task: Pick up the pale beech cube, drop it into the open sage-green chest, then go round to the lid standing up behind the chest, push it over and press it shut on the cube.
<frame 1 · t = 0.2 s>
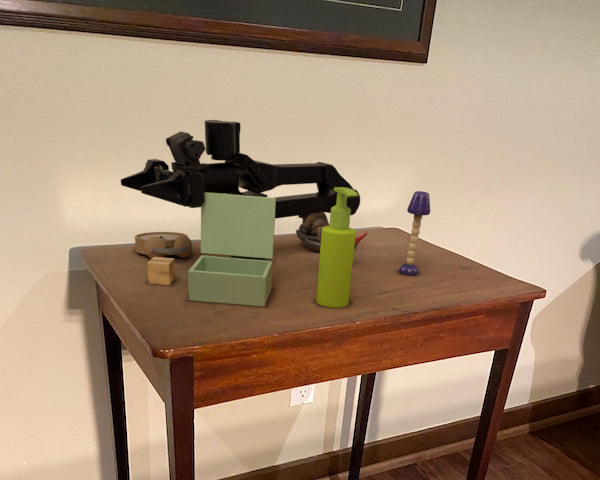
hand: (130, 186, 110), 17 cm above the table, tool horizontal, fingers open, 9 cm apart
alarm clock: (164, 255, 133), on the table
bison figurine: (312, 248, 145), on the table
soap dispenser: (333, 304, 112), on the table
lid: (237, 225, 112), point 11 cm above the table, hinge at 95.0°
chest: (231, 294, 112), on the table
decorative bird figurine: (342, 268, 132), on the table
block: (162, 281, 116), on the table
toy lamp: (408, 274, 132), on the table
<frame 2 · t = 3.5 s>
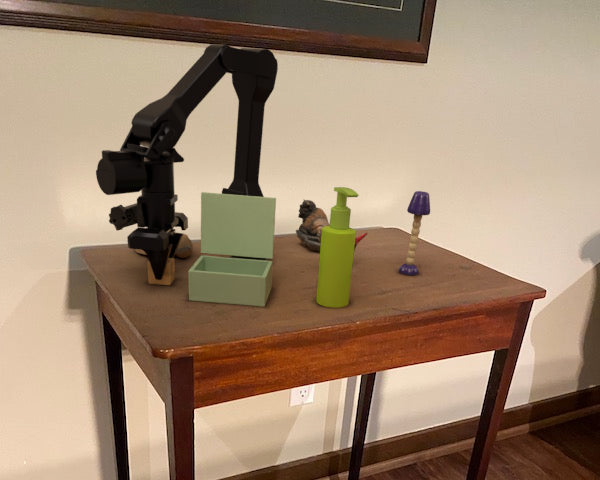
hand: (161, 276, 116), 1 cm above the table, tool pointing down, fingers closed on block, 4 cm apart
block: (162, 281, 116), on the table, touching gripper
everything else where it was.
when the fingers open (6 cm above the table, at t = 10.8 s): block drops 5 cm, resting on chest.
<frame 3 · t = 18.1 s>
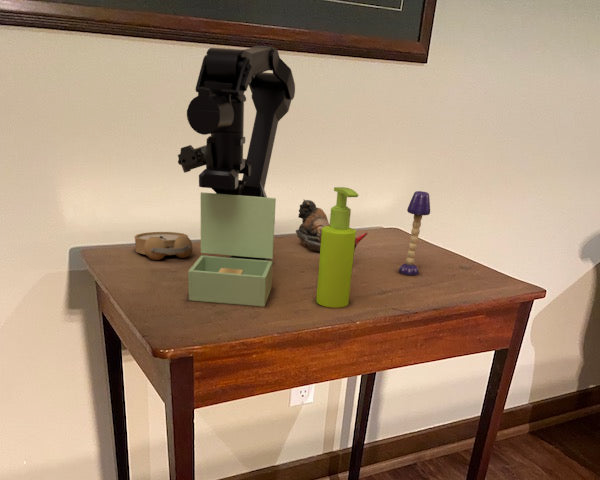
hand: (226, 221, 115), 11 cm above the table, tool pointing down, fingers closed
lid: (237, 226, 112), point 11 cm above the table, hinge at 92.4°, touching gripper
block: (229, 293, 110), point 1 cm above the table, touching chest
everything else where it was.
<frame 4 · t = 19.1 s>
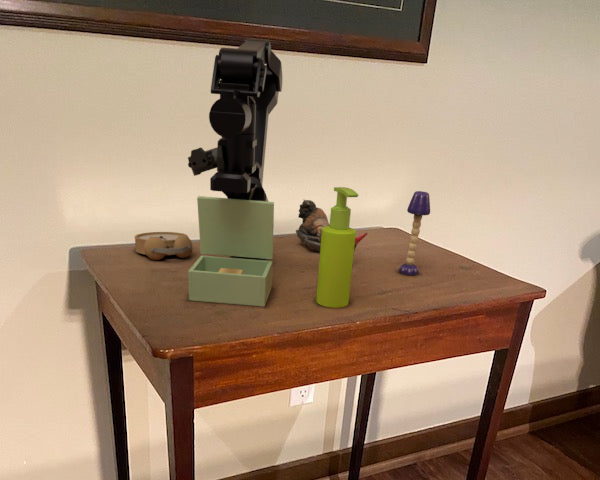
hand: (237, 225, 113), 11 cm above the table, tool pointing down, fingers closed
lid: (236, 228, 111), point 11 cm above the table, hinge at 77.4°, touching gripper
everything else where it was.
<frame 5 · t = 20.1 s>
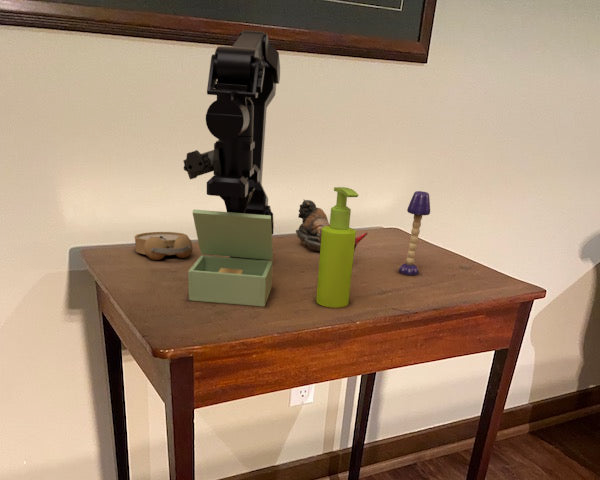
hand: (234, 230, 109), 11 cm above the table, tool pointing down, fingers closed
lid: (234, 235, 109), point 10 cm above the table, hinge at 54.9°, touching gripper
everything else where it was.
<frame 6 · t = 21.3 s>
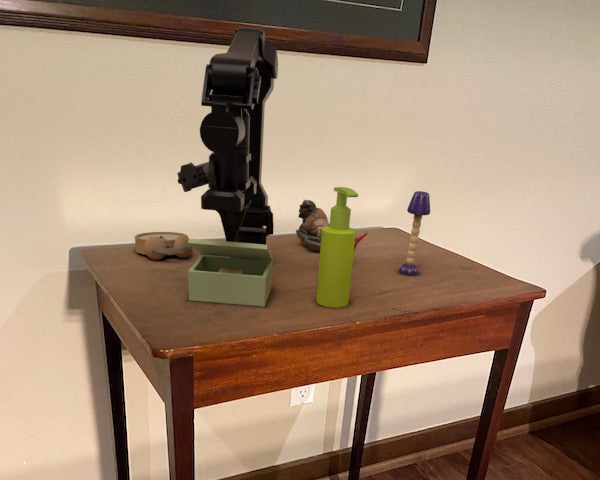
hand: (230, 243, 106), 10 cm above the table, tool pointing down, fingers closed
lid: (232, 250, 109), point 8 cm above the table, hinge at 25.1°, touching gripper
everything else where it was.
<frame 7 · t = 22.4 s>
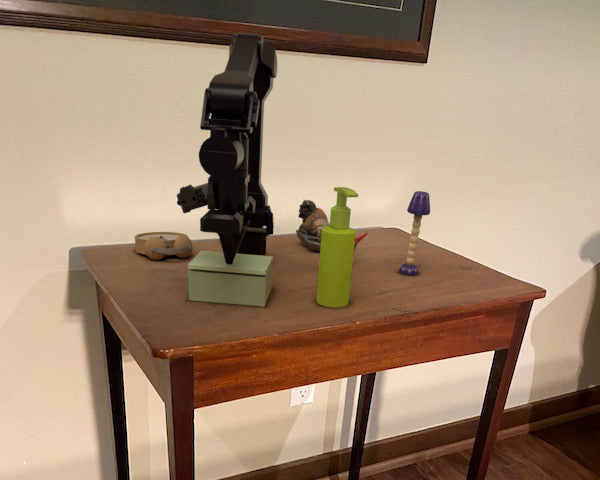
hand: (229, 263, 107), 6 cm above the table, tool pointing down, fingers closed, pressing on lid
lid: (231, 262, 109), point 6 cm above the table, hinge at 2.0°, touching gripper
everything else where it was.
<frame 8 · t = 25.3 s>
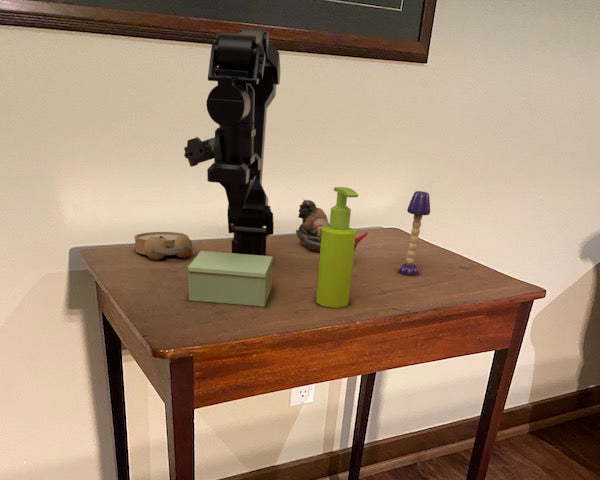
hand: (235, 218, 109), 13 cm above the table, tool pointing down, fingers closed
lid: (231, 263, 109), point 6 cm above the table, hinge at -0.3°, touching chest
everything else where it was.
at the end: block inside the target area in the chest (0.1 cm from its centre), point 0.7 cm above the chest's base; lid at +0° (first picture: +95°) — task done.
